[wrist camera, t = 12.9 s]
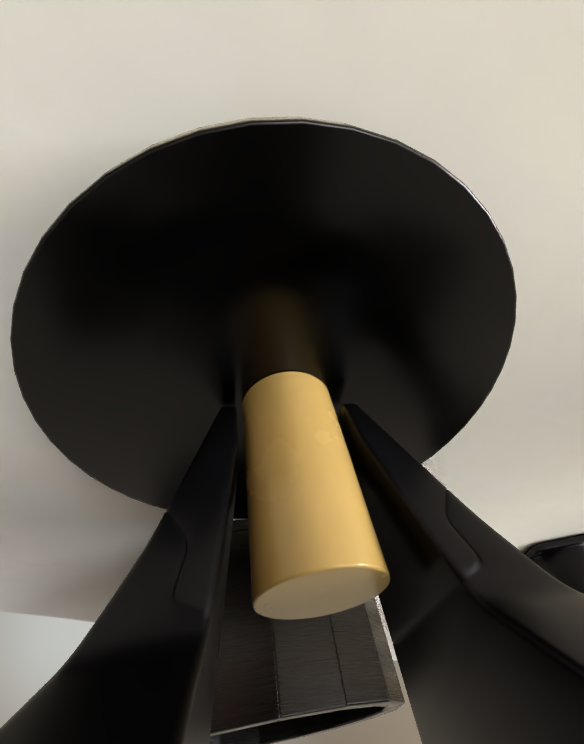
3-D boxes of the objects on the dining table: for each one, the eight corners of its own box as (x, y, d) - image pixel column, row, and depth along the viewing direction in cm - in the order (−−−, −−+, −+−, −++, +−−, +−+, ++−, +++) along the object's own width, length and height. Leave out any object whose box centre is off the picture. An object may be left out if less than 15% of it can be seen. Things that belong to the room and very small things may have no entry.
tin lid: (577, 80, 7) (1306, 70, 2) (439, 463, 16) (528, 622, 11) (-130, 155, 6) (-1318, 388, 1) (143, 516, 15) (106, 712, 10)
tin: (363, 497, 17) (426, 686, 12) (352, 584, 25) (387, 718, 20) (104, 544, 16) (45, 770, 11) (181, 618, 24) (169, 766, 19)
